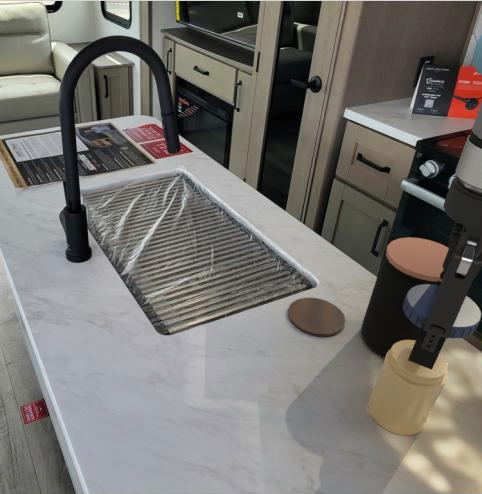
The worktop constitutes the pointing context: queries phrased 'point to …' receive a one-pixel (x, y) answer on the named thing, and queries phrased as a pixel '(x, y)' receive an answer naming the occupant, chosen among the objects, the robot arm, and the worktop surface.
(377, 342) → the coffee jar
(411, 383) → the jar
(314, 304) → the coaster
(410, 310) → the lid
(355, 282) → the worktop surface
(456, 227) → the robot arm
